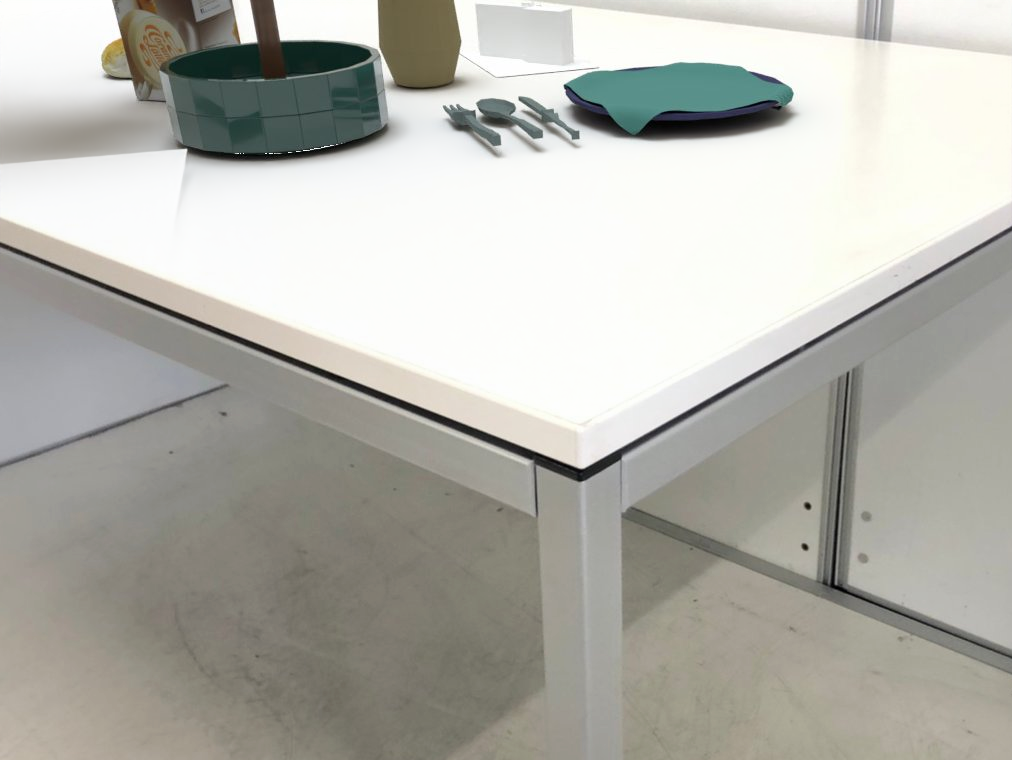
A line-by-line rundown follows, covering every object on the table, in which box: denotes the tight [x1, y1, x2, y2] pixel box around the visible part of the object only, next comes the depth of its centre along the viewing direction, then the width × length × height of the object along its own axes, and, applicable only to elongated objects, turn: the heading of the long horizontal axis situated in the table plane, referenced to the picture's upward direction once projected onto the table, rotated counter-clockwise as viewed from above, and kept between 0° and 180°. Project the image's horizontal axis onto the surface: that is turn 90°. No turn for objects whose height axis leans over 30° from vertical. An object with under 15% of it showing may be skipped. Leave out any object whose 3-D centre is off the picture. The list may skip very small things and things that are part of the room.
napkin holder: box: [459, 0, 599, 78], centre depth 119 cm, size 15×11×6 cm
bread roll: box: [100, 37, 132, 79], centre depth 117 cm, size 8×9×4 cm
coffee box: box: [111, 0, 242, 102], centre depth 103 cm, size 9×6×16 cm
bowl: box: [159, 39, 390, 154], centre depth 93 cm, size 17×17×6 cm
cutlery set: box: [442, 61, 795, 147], centre depth 98 cm, size 20×30×2 cm, turn 113°
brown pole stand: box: [249, 0, 286, 79], centre depth 90 cm, size 5×5×16 cm
